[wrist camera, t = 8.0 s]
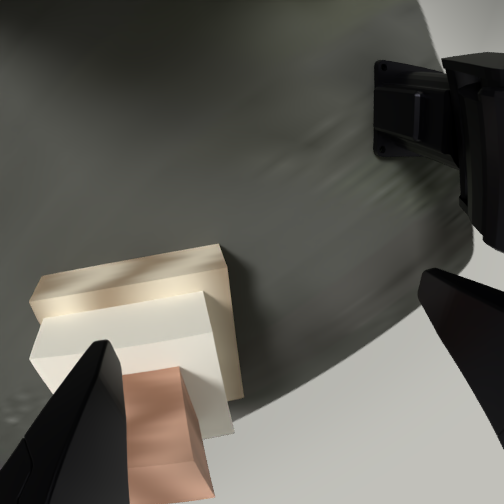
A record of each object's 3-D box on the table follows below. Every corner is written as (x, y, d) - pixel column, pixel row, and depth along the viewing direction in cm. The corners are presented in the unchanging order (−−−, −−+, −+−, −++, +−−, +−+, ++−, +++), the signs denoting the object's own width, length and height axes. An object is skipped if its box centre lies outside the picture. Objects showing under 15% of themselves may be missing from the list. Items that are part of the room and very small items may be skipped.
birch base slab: (217, 239, 21) (227, 267, 18) (234, 366, 26) (244, 397, 23) (44, 271, 18) (29, 301, 15) (101, 387, 24) (99, 419, 21)
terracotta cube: (178, 366, 15) (193, 460, 11) (198, 420, 18) (215, 497, 13) (81, 379, 14) (72, 469, 10) (117, 431, 17) (120, 506, 12)
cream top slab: (202, 290, 18) (212, 332, 15) (224, 395, 23) (234, 433, 20) (43, 318, 16) (29, 359, 13) (101, 414, 21) (100, 451, 18)
